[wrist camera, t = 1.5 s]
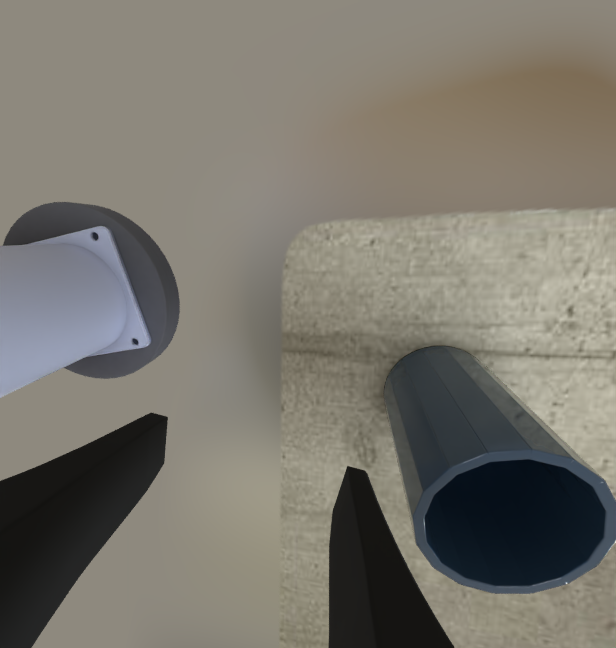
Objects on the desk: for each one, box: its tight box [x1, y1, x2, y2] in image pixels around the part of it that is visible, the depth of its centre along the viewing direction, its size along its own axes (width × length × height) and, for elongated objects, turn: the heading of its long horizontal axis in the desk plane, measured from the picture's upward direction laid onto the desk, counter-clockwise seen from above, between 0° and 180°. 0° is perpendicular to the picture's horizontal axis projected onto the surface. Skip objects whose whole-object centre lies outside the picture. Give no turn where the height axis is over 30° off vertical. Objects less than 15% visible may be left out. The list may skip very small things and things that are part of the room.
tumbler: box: [384, 346, 616, 594], centre depth 14 cm, size 6×6×9 cm
